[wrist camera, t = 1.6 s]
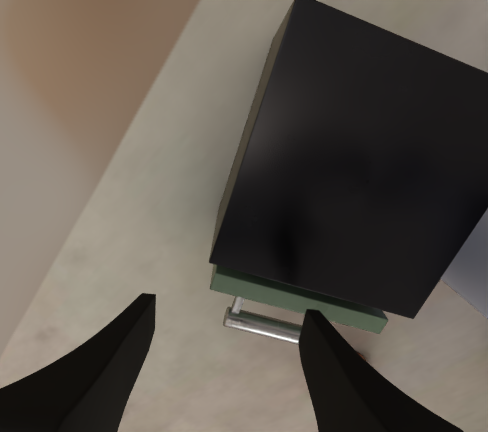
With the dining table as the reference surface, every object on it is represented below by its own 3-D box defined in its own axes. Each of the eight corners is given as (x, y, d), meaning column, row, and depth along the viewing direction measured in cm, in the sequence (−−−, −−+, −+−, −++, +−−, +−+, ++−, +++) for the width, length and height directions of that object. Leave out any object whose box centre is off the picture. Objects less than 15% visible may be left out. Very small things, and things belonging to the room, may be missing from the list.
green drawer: (322, 321, 26) (347, 385, 20) (200, 289, 24) (189, 348, 18) (415, 146, 20) (488, 163, 14) (266, 91, 19) (279, 86, 13)
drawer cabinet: (359, 253, 24) (413, 319, 17) (218, 210, 23) (208, 262, 15) (439, 103, 20) (559, 102, 13) (273, 37, 18) (297, -9, 11)
